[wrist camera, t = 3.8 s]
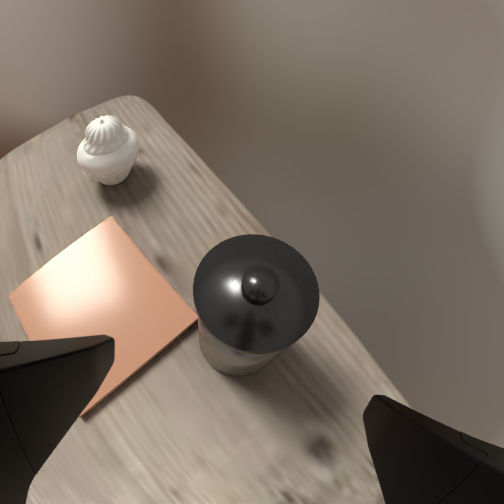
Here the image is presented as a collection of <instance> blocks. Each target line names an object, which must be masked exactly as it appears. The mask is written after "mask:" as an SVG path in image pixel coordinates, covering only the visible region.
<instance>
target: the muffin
mask: <svg viewBox="0 0 504 504" xmlns="http://www.w3.org/2000/svg"><path fill="white" fill-rule="evenodd" d="M85 135H86V137H85V138H84V140H83V141H82V142H81V144H80V146H79V148H78V151H77V161H78V163H79V165H80V166H81V167H82V168H83V169H84V170H85V171H86V173H87V174H89V175H90V176H91V177H93V178H95V179H96V180H98V181H99V182H101V183H103V184H105V185H115V184H118V183H120V182H122V181H123V180H125V178H127V176H128V175H129V173H130V171H131V168H132V166H133V164H134V162H135V160H136V158H137V156H136V155H137V152H138V148H139V139H138V136H137V135H136V133H135V132H134V131H133V130H132V129H130V128H128V127H126V126H123V125H122V123H121V121H120V119H118V118H116V117H114V116H108V115H106V116H104V117H103V116H101V117H100V118H96V119H95V120H94V121H92V122H91V123H90V124H89V125H88V126H87V130H86V131H85Z"/></svg>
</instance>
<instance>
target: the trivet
mask: <svg viewBox="0 0 504 504" xmlns="http://www.w3.org/2000/svg"><path fill="white" fill-rule="evenodd" d="M9 297H10V300H11V302H12V304H13V306H14V309H15V311H16V313H17V315H18V317H19V319H20V322H21V324H22V326H23V328H24V330H25V332H26V334H27V336H28V337H29V339H30V341H35V340H49V339H61V338H72V337H83V336H92V335H102V334H104V335H108V336H110V337H113V338H114V339H115V359H114V363H113V365H112V367H111V369H110V371H109V372H108V374H107V376H106V378H105V379H104V381H103V383H102V385H101V387H100V388H99V390H98V392H97V393H96V394H95V396H94V397H93V399H92V400H91V401H90V402H89V404H88V405H87V406H86V408H85V409H84V410H83V412H82V413H81V414H80V416H79V417H83V416H84V415H85V414H86V413H87V412H89V411H90V410H91V409H92V408H94V407H95V406H96V405H97V404H99V403H100V402H101V401H102V400H103V399H105V398H106V397H107V396H108V395H110V394H111V393H112V392H113V391H114V390H116V389H117V388H118V387H119V386H120V385H122V384H123V383H124V382H125V381H126V380H128V379H129V378H130V377H131V376H133V375H134V374H135V373H136V372H137V371H139V370H140V369H141V368H142V367H143V366H145V365H146V364H147V363H148V362H149V361H151V360H152V359H153V358H154V357H155V356H157V355H158V354H159V353H160V352H161V351H163V350H164V349H165V348H166V347H167V346H168V345H170V344H171V343H172V342H173V341H174V340H176V339H177V338H178V337H179V336H180V335H182V334H183V333H184V332H185V331H186V330H187V329H189V328H190V327H191V326H192V325H193V324H194V323H196V322H197V321H198V315H197V314H196V313H195V312H194V311H193V310H192V309H191V308H190V307H189V306H188V305H187V304H186V302H185V301H184V300H183V299H182V298H181V297H180V296H179V295H178V294H177V293H176V291H175V290H174V289H173V288H172V287H171V286H170V285H169V284H168V283H167V281H166V280H165V279H164V278H163V277H162V276H161V275H160V273H159V272H158V271H157V270H156V269H155V268H154V267H153V265H152V264H151V263H150V262H149V261H148V260H147V258H146V257H145V256H144V255H143V254H142V253H141V251H140V250H139V249H138V248H137V247H136V245H135V244H134V243H133V242H132V241H131V239H130V238H129V237H128V236H127V235H126V233H125V232H124V231H123V230H122V228H121V227H120V226H119V225H118V223H117V222H116V221H115V220H114V218H113V217H112V216H111V217H109V218H108V219H106V220H105V221H103V222H102V223H100V224H99V225H98V226H96V227H95V228H93V229H92V230H90V231H89V232H88V233H86V234H85V235H84V236H82V237H81V238H79V239H78V240H77V241H75V242H74V243H73V244H71V245H70V246H69V247H67V248H66V249H65V250H63V251H62V252H61V253H59V254H58V255H57V256H56V257H54V258H53V259H52V260H50V261H49V262H48V263H47V264H45V265H44V266H43V267H42V268H40V269H39V270H38V271H37V272H35V273H34V274H33V275H32V276H31V277H29V278H28V279H27V280H26V281H25V282H23V283H22V284H21V285H20V286H19V287H18V288H16V289H15V290H14V291H13V292H12V293H11V294H9Z"/></svg>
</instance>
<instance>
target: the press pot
mask: <svg viewBox="0 0 504 504" xmlns="http://www.w3.org/2000/svg"><path fill="white" fill-rule="evenodd" d="M193 297H194V305H195V309H196V312H197V315H198V326H199V341H200V348H201V351H202V353H203V355H204V357H205V359H206V360H207V362H208V363H209V364H210V365H211V366H212V367H213V368H215V369H216V370H218V371H220V372H222V373H224V374H227V375H232V376H244V375H248V374H251V373H254V372H256V371H257V370H259V369H260V368H262V367H263V366H264V365H265V364H266V363H267V362H269V361H270V360H271V359H272V358H273V357H274V356H275V355H277V354H278V353H279V352H280V351H281V350H283V349H285V348H287V347H289V346H291V345H292V344H293V343H295V342H296V341H297V340H299V339H300V338H301V337H302V336H303V335H304V334H305V333H306V332H307V330H308V329H309V328H310V326H311V325H312V323H313V321H314V319H315V317H316V314H317V311H318V307H319V288H318V283H317V280H316V276H315V274H314V272H313V270H312V268H311V267H310V265H309V263H308V262H307V261H306V260H305V258H304V257H303V256H302V255H301V254H300V253H299V252H298V251H296V250H295V249H294V248H293V247H291V246H290V245H288V244H286V243H284V242H282V241H280V240H278V239H275V238H272V237H269V236H264V235H251V234H249V235H240V236H236V237H232V238H230V239H227V240H225V241H223V242H221V243H219V244H218V245H216V246H215V247H214V248H212V249H211V250H210V251H209V252H208V253H207V254H206V255H205V257H204V258H203V259H202V261H201V262H200V264H199V266H198V268H197V271H196V274H195V277H194V284H193Z"/></svg>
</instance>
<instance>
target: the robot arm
mask: <svg viewBox="0 0 504 504" xmlns="http://www.w3.org/2000/svg"><path fill="white" fill-rule="evenodd" d="M114 359H115V339H114V338H113V337H110V336H108V335H104V334H102V335H92V336H83V337H72V338H61V339H49V340H35V341H21V343H20V341H13V342H0V504H26V499H27V494H28V490H29V487H30V484H31V482H32V480H33V478H34V477H35V475H36V474H37V473H38V471H39V470H40V468H41V467H42V466H43V464H44V463H45V461H46V460H47V459H48V457H49V456H50V455H51V453H52V452H53V450H54V449H55V448H56V446H57V445H58V444H59V442H60V441H61V440H62V438H63V437H64V436H65V434H66V433H67V432H68V430H69V429H70V428H71V426H72V425H73V424H74V422H75V421H76V420H77V418H78V417H79V416H80V414H81V413H82V412H83V410H84V409H85V408H86V406H87V405H88V404H89V402H90V401H91V400H92V399H93V397H94V396H95V394H96V393H97V392H98V390H99V388H100V387H101V385H102V383H103V381H104V379H105V378H106V376H107V374H108V372H109V371H110V369H111V367H112V365H113V363H114ZM363 421H364V426H365V431H366V437H367V442H368V447H369V451H370V454H371V457H372V460H373V464H374V467H375V470H376V473H377V477H378V480H379V483H380V487H381V490H382V494H383V497H384V501H385V504H504V448H501V447H498V446H496V445H493V444H490V443H487V442H484V441H482V440H479V439H477V438H474V437H472V436H470V435H467V434H465V433H463V432H458V431H457V430H455V429H453V428H451V427H449V426H446V425H444V424H442V423H440V422H438V421H436V420H433V419H431V418H429V417H427V416H425V415H423V414H421V413H419V412H417V411H415V410H413V409H411V408H409V407H407V406H405V405H403V404H401V403H399V402H397V401H395V400H393V399H391V398H389V397H387V396H385V395H374V396H373V397H372V399H371V400H370V402H369V404H368V405H367V407H366V409H365V411H364V413H363Z"/></svg>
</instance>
